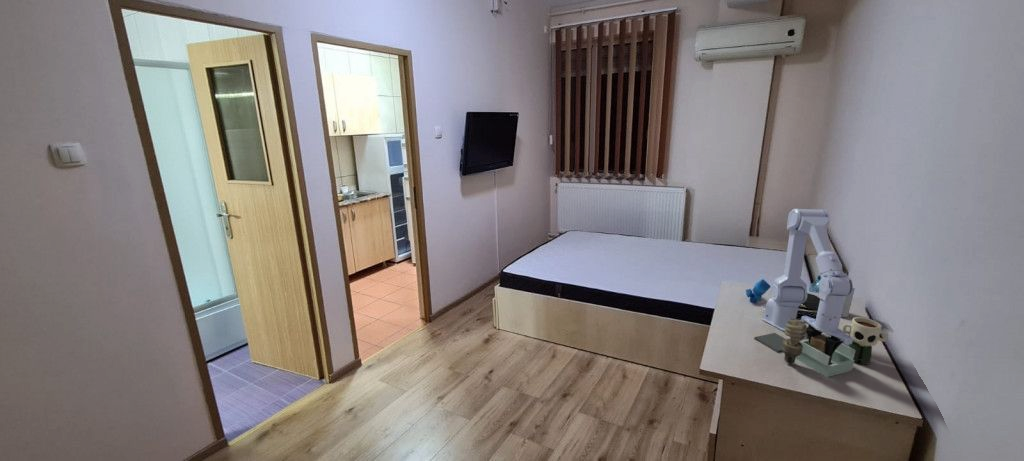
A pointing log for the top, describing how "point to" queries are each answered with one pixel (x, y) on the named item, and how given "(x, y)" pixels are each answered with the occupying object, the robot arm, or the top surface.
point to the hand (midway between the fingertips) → (820, 353)
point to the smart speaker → (812, 301)
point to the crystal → (757, 291)
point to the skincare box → (847, 304)
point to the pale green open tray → (827, 359)
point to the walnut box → (819, 344)
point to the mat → (771, 341)
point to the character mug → (864, 337)
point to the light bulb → (793, 339)
